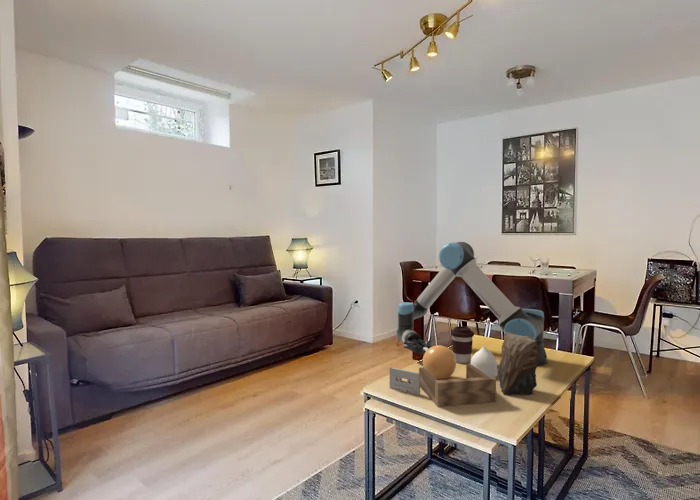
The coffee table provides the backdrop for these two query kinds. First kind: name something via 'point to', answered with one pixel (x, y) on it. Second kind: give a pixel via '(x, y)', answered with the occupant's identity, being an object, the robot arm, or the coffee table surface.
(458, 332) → the coffee cup
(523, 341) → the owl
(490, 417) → the coffee table surface
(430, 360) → the ball
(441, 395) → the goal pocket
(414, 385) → the cassette
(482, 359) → the teardrop
